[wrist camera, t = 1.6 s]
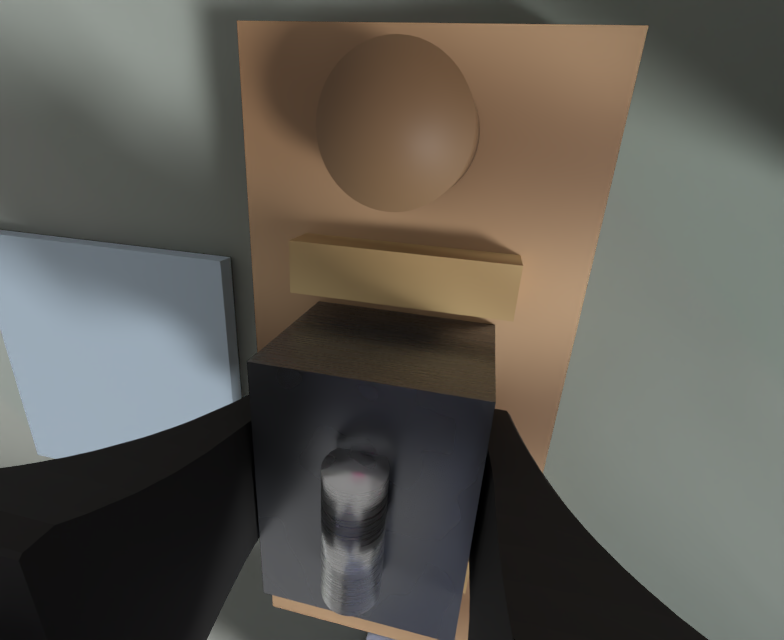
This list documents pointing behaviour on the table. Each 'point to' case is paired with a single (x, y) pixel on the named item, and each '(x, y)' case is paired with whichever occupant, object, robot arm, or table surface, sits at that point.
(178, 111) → the table surface
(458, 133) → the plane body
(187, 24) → the table surface
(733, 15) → the table surface
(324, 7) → the table surface
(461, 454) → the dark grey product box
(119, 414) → the rubber mat
